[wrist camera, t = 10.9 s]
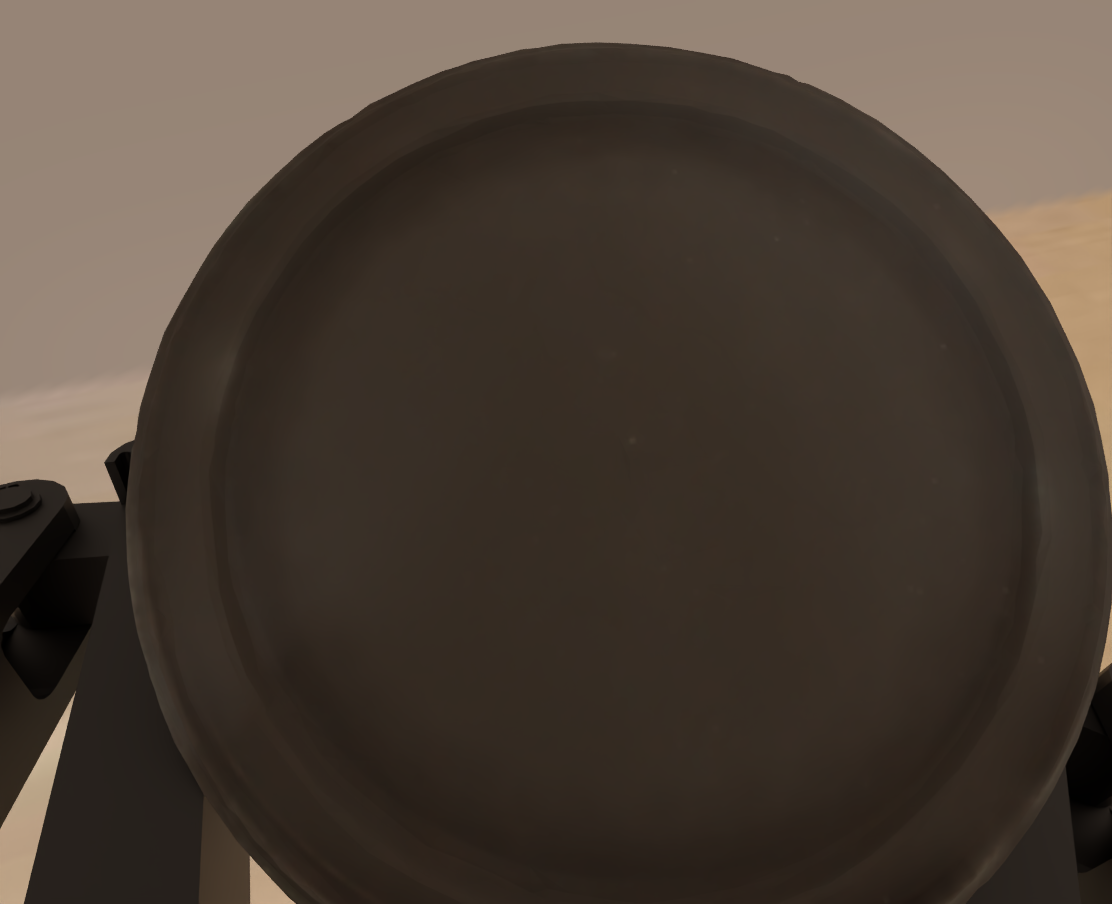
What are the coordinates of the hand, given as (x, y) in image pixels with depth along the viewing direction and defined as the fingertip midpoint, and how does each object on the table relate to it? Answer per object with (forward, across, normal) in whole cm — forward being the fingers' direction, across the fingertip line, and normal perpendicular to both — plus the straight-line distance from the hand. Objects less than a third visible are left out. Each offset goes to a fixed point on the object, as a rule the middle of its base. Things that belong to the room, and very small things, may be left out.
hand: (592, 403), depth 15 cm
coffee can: (+2, 0, -6) cm, 6 cm away
